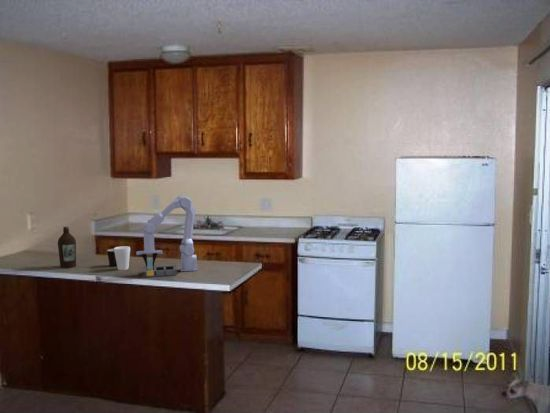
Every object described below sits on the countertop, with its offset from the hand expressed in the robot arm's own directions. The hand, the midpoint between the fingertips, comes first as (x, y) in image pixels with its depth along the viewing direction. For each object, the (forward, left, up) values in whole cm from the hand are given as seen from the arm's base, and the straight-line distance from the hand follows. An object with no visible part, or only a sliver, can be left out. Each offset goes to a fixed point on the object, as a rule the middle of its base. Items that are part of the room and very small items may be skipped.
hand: (150, 266), depth 332 cm
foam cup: (+17, -20, -5) cm, 26 cm away
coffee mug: (+21, -31, -5) cm, 37 cm away
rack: (-5, 0, -4) cm, 7 cm away
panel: (0, 0, -3) cm, 4 cm away
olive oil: (+51, -36, -5) cm, 62 cm away
